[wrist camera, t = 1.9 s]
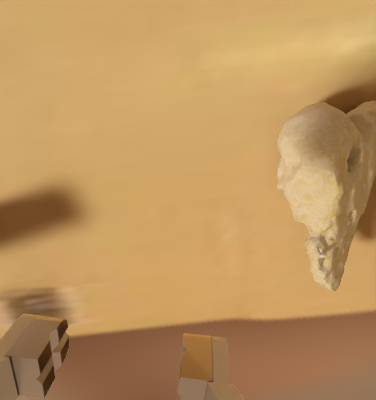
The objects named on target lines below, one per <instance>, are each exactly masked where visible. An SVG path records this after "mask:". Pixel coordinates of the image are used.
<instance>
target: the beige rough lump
mask: <svg viewBox="0 0 376 400" xmlns="http://www.w3.org/2000/svg"><path fill="white" fill-rule="evenodd" d="M277 147H278V149H279V151H280V153H281V160H280V162H279V166H278V172H277V176H278V182H277V187H278V189H281V190H284V195H285V197H286V198H287V199H288V201H289V203H290V206H291V211H292V215H293V217H294V219H295V220H296V221H297V222H300V223H303V224H305V225H306V227H307V230H308V234H309V235H308V238H307V240H306V243H305V249H306V251H307V254H308V256H309V261H310V267H309V268H310V270H311V272H312V273H313V276H314V279H315V281H316V282H318V283H320V284H321V285H324V286H325V287H326V288H328V289H329V290H331V291H336V290H337V289H338V287H339V286H340V282H341V278H342V275H343V273H344V265H345V262H346V260H347V256H348V252H349V248H350V245H351V242H352V239H353V237H354V235H355V232H356V229H357V226H358V222H359V219H360V217H361V216H362V215H363V214H364V212H365V209H366V206H367V203H368V198H369V195H370V192H371V188H372V185H373V181H374V179H375V176H376V100H374V101H369V102H364V103H362V104H361V105H359V106H357V107H356V108H355V109H354V110H351V111H350V112H348V113H347V114H345V113H344V112H342V111H341V110H340V109H337V108H335V107H333V106H331V105H329V104H327V103H326V102H320V103H316V104H312V105H309V106H307V107H305V108H303V109H302V110H301V111H300V112H299V113H297V114H296V115H294V116H292V117H290V118H289V119H288V120H287V121H286V122H285V123H284V125H283V127H282V130H281V132H280V134H279V137H278V142H277Z"/></svg>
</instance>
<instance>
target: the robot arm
mask: <svg viewBox="0 0 376 400" xmlns="http://www.w3.org/2000/svg"><path fill="white" fill-rule="evenodd" d="M67 328H68V323H67V320H65V319H59V318H53V317H46V316H39V315H31V314H23V315H21V316H20V317H19V318H18V319H17V320H16V321H15V322H14V324H13V325H12V326H11V327H10V328H9V330H8V331H7V332H6V333H5V335H4V336H3V337H2V338H1V339H0V400H16V399H17V398H18V396H29V397H39V398H45V396H46V394H47V392H48V391H49V389H50V387H51V385H52V383H53V381H54V379H55V372H54V371H55V370H56V369H57V368H59V367H60V366H61V365H62V364H63V362H64V360H65V358H66V355H67V352H68V349H69V342H70V340H69V335H68V334H67V333H66V332H65V331H66V330H67ZM177 400H244V398H243V397H242V396H241V394H240V392H239V391H238V389H237V388H236V386H235V385H231V384H230V375H229V362H228V350H227V340H226V338H220V337H211V336H204V335H196V334H186V333H184V335H183V344H182V352H181V362H180V371H179V382H178V392H177Z"/></svg>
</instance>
